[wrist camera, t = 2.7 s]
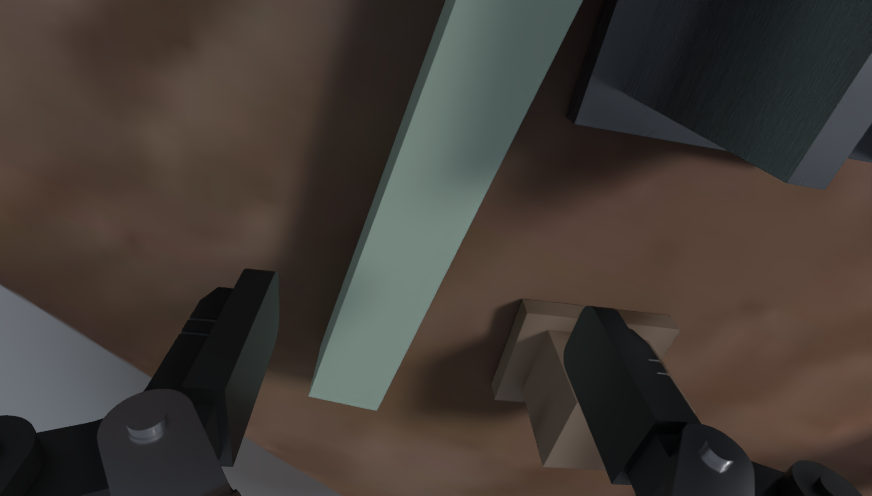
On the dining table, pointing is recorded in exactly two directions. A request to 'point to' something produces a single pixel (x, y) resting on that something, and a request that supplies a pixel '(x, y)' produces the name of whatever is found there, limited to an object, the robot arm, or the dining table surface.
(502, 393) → the post
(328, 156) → the dining table surface
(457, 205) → the green rail
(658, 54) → the cup bracket
